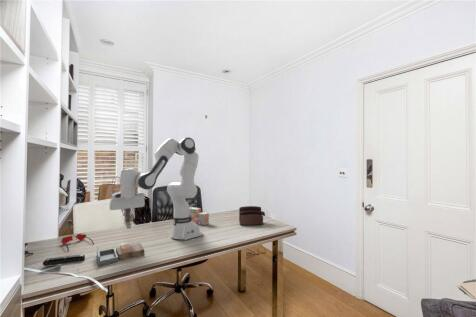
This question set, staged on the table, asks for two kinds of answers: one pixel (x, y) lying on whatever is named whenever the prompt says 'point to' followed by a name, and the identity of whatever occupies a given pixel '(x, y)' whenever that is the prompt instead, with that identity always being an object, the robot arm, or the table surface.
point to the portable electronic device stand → (63, 260)
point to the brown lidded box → (250, 215)
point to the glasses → (67, 239)
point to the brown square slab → (135, 251)
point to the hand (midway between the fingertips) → (127, 215)
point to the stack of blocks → (199, 216)
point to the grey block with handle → (127, 218)
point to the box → (106, 256)
